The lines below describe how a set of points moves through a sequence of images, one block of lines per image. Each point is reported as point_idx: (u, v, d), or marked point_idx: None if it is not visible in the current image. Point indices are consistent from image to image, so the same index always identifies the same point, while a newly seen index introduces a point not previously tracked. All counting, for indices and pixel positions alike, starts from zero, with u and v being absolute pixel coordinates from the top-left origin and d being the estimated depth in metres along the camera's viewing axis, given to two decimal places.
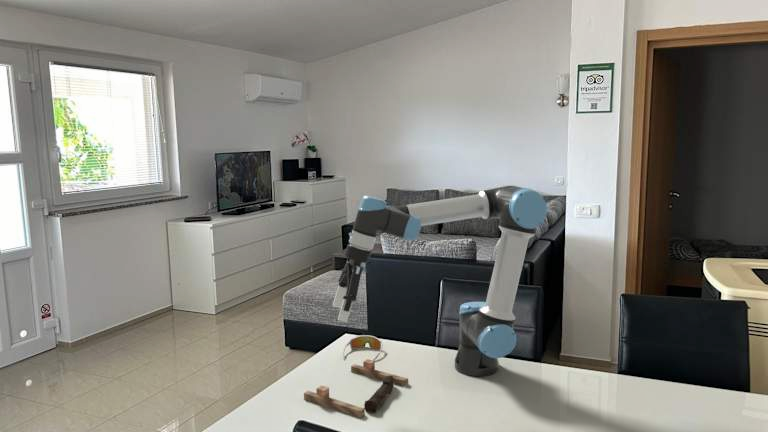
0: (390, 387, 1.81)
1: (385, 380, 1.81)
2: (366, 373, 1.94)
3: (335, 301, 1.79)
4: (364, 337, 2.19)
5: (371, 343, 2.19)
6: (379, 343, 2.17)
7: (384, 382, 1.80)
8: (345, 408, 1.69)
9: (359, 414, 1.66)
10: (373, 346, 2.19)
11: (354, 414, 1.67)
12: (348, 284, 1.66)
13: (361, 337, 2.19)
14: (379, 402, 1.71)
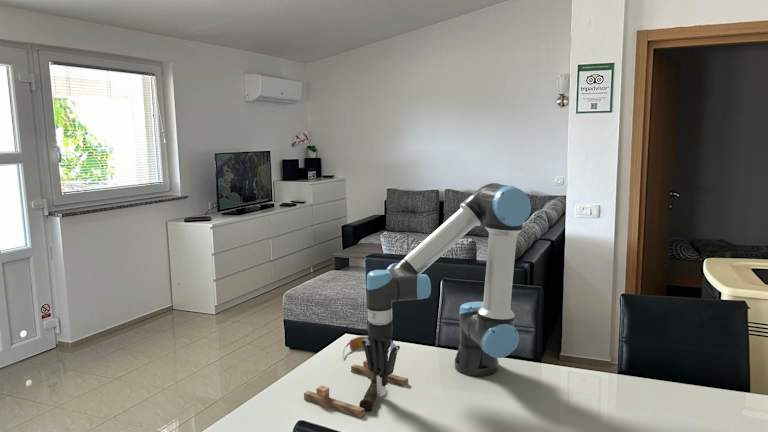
0: None
1: (373, 379, 1.82)
2: (366, 373, 1.94)
3: None
4: (364, 338, 2.19)
5: None
6: None
7: (373, 381, 1.81)
8: (345, 408, 1.69)
9: (359, 414, 1.66)
10: None
11: (354, 414, 1.67)
12: (383, 363, 1.73)
13: (361, 338, 2.19)
14: (373, 401, 1.72)
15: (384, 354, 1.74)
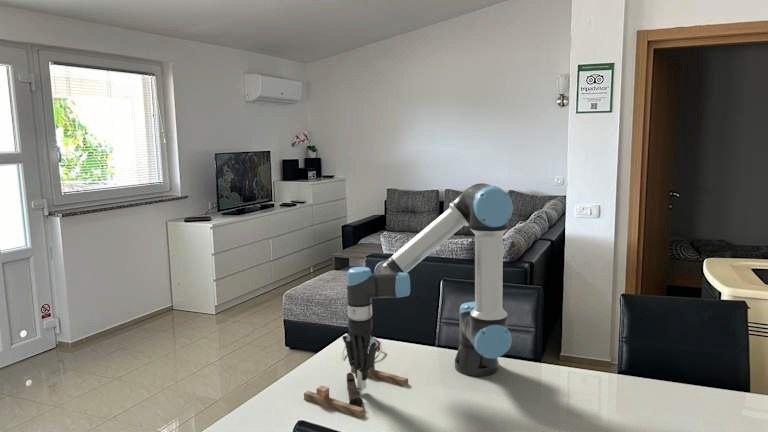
0: None
1: (349, 377, 1.83)
2: None
3: None
4: None
5: None
6: (379, 344, 2.16)
7: (349, 379, 1.83)
8: (345, 408, 1.69)
9: (359, 414, 1.66)
10: None
11: (354, 414, 1.67)
12: (363, 358, 1.78)
13: None
14: None
15: (364, 349, 1.78)
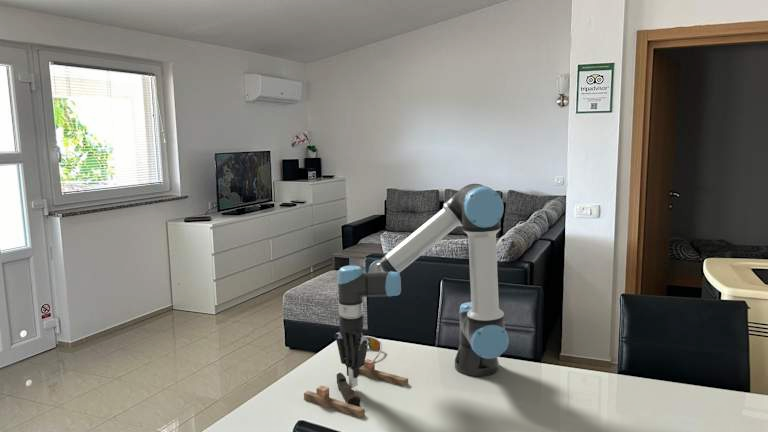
0: None
1: (340, 377, 1.83)
2: (366, 373, 1.94)
3: None
4: None
5: (370, 344, 2.19)
6: (379, 344, 2.16)
7: (341, 379, 1.83)
8: (345, 408, 1.69)
9: (359, 414, 1.66)
10: (373, 347, 2.18)
11: (354, 414, 1.67)
12: (354, 355, 1.80)
13: None
14: None
15: (355, 347, 1.80)
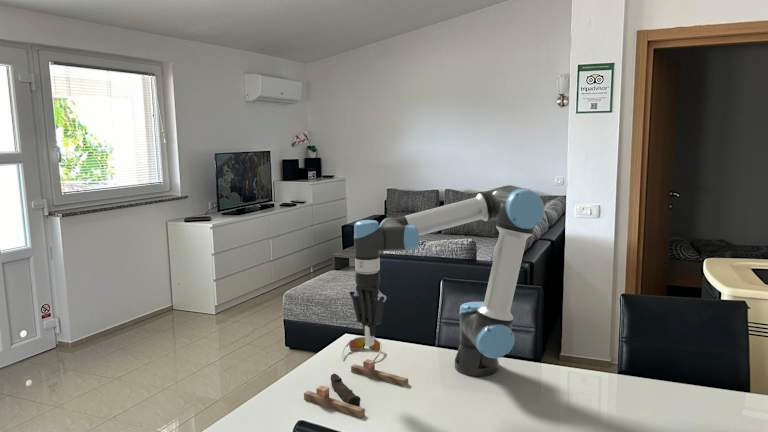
0: None
1: (336, 378, 1.83)
2: (366, 373, 1.94)
3: None
4: (363, 338, 2.18)
5: None
6: (378, 344, 2.16)
7: (337, 380, 1.82)
8: (345, 408, 1.69)
9: (359, 414, 1.66)
10: (372, 347, 2.18)
11: (354, 414, 1.67)
12: (371, 312, 1.74)
13: (360, 338, 2.18)
14: None
15: (372, 304, 1.74)
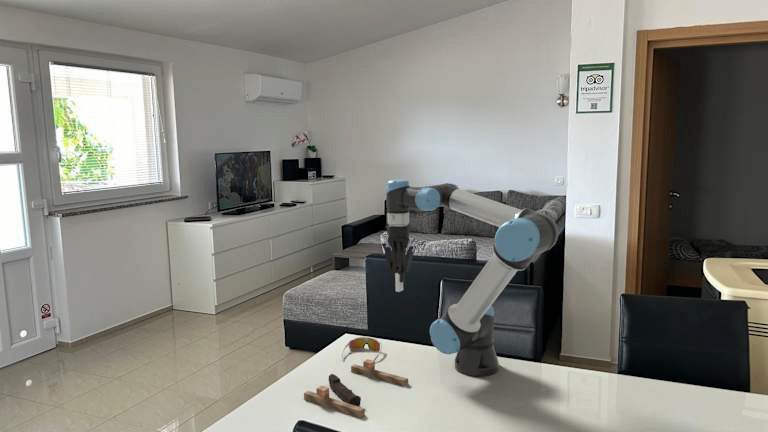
0: None
1: (334, 378, 1.83)
2: (366, 373, 1.94)
3: None
4: (363, 338, 2.18)
5: (370, 344, 2.18)
6: (378, 344, 2.15)
7: (336, 380, 1.82)
8: (345, 408, 1.69)
9: (359, 414, 1.66)
10: (372, 347, 2.18)
11: (354, 414, 1.67)
12: (401, 261, 1.98)
13: (360, 338, 2.18)
14: None
15: (402, 253, 1.98)
